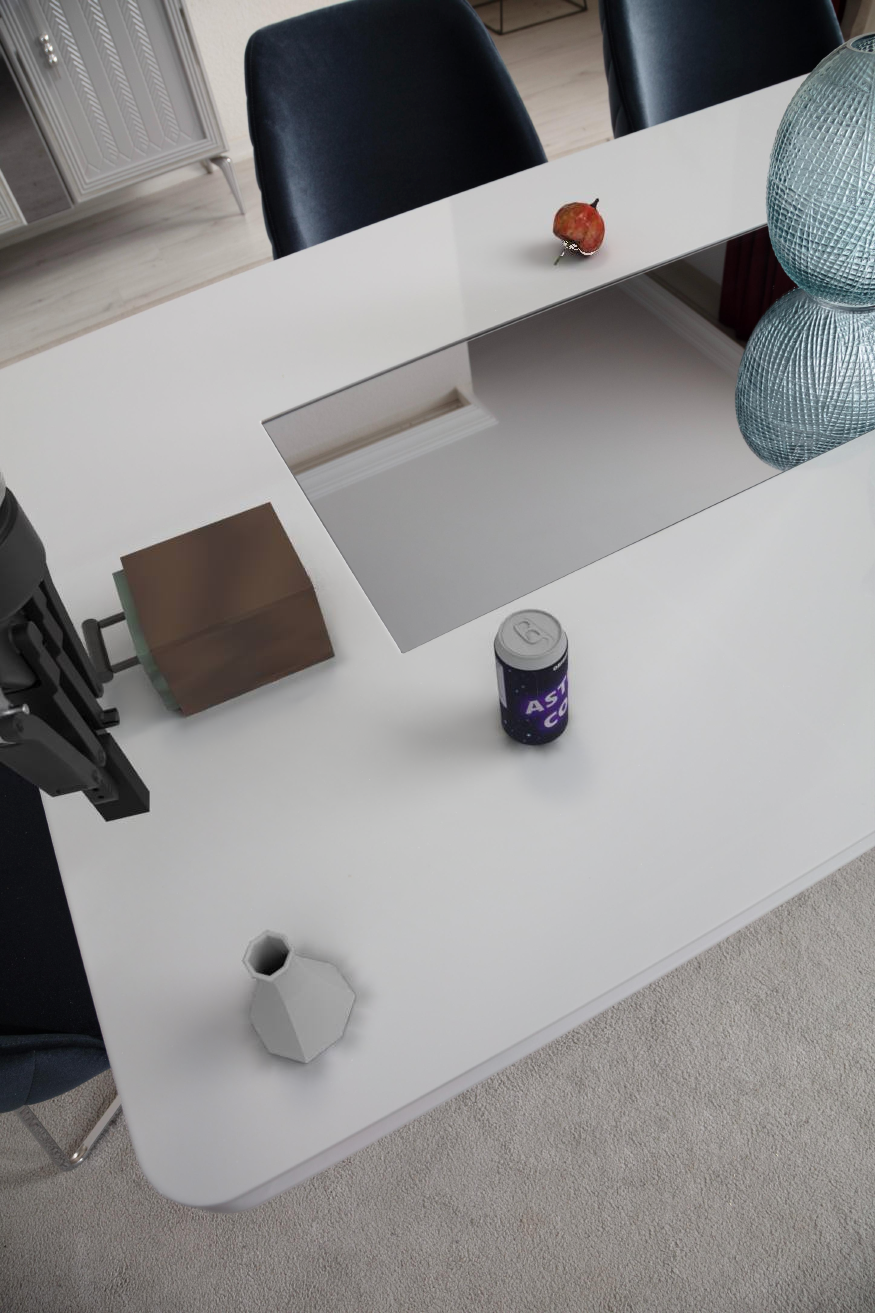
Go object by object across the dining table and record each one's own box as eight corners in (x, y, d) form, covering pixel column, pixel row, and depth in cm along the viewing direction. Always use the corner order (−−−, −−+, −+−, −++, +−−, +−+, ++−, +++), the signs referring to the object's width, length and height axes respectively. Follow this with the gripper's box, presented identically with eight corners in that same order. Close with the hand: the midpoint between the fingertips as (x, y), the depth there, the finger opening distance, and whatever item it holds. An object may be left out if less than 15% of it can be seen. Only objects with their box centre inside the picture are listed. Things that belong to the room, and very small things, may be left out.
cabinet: (186, 717, 84) (149, 649, 77) (155, 626, 92) (119, 557, 84) (335, 656, 87) (313, 585, 79) (293, 572, 94) (270, 501, 87)
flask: (232, 1024, 66) (187, 972, 58) (297, 941, 69) (263, 881, 61) (309, 1084, 63) (272, 1037, 55) (373, 993, 66) (347, 937, 58)
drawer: (121, 731, 83) (86, 677, 77) (98, 646, 90) (64, 590, 84) (308, 655, 86) (288, 598, 80) (271, 578, 93) (251, 520, 87)
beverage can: (527, 763, 77) (521, 673, 68) (489, 718, 80) (478, 627, 71) (582, 729, 78) (583, 637, 69) (542, 686, 82) (538, 593, 72)
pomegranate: (581, 287, 127) (631, 225, 124) (549, 254, 122) (600, 188, 119) (555, 270, 132) (602, 210, 129) (524, 238, 127) (572, 175, 125)
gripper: (-136, 449, 43) (73, 736, 61) (-205, 657, 35) (61, 918, 53) (24, 415, 43) (185, 710, 62) (-6, 613, 35) (191, 887, 53)
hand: (128, 806), depth 57 cm, fingers closed
